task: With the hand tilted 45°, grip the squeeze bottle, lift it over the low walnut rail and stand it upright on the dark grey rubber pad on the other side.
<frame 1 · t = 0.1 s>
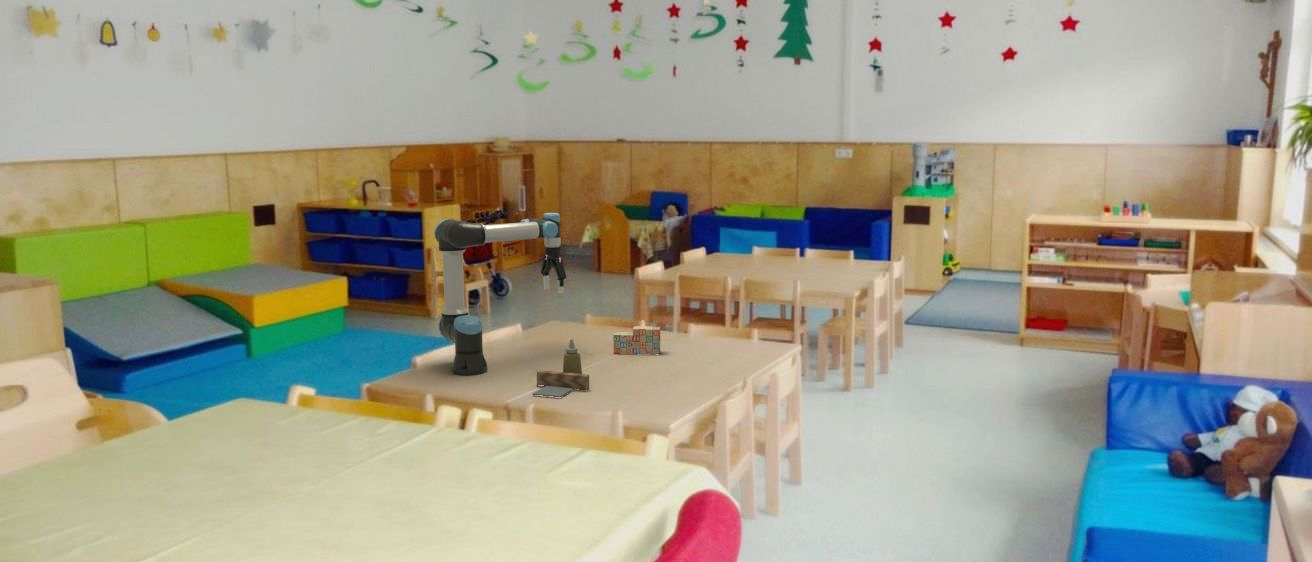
hand: (553, 291, 456), 28 cm above the table, tool pointing down, fingers open, 13 cm apart
squeeze bottle: (572, 382, 403), on the table
stack of blocks: (637, 353, 453), on the table
walnut rail: (563, 387, 395), on the table
grey rubber pad: (553, 393, 386), on the table
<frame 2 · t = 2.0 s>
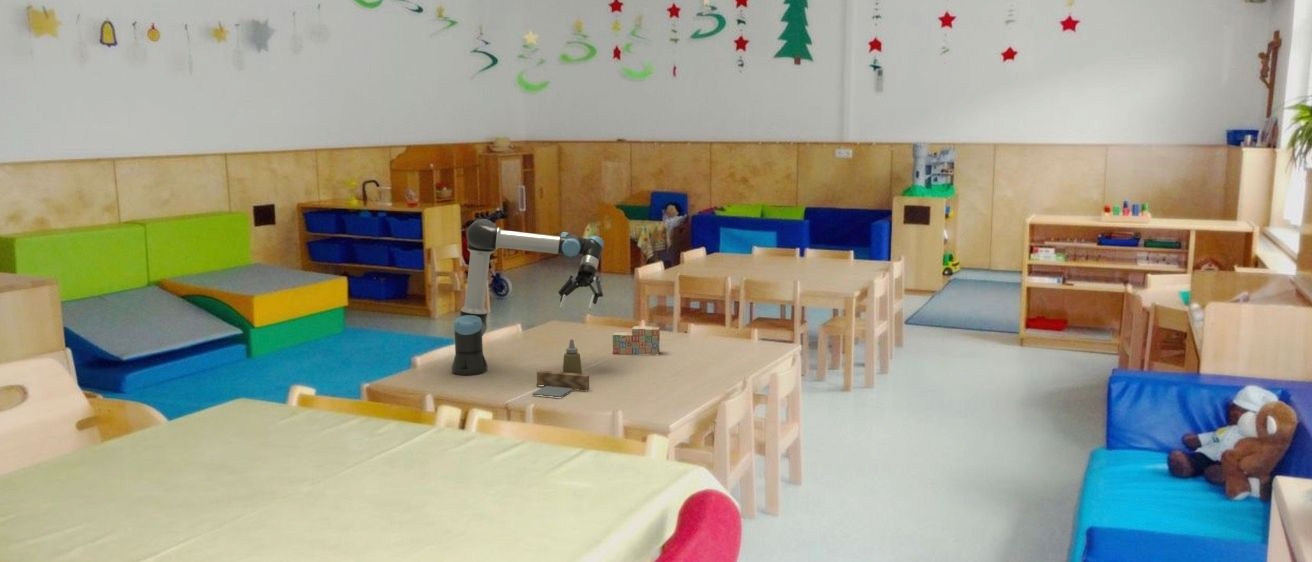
hand: (575, 309, 414), 28 cm above the table, tool tilted 45°, fingers open, 13 cm apart
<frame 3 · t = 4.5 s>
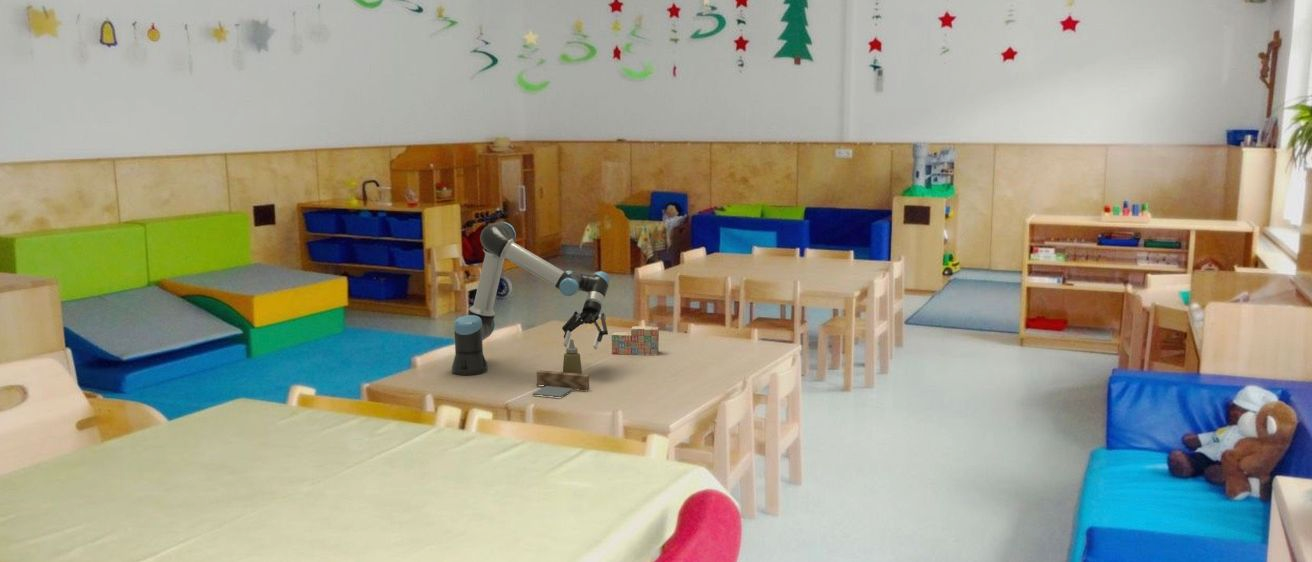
hand: (579, 346, 405), 14 cm above the table, tool tilted 45°, fingers open, 13 cm apart
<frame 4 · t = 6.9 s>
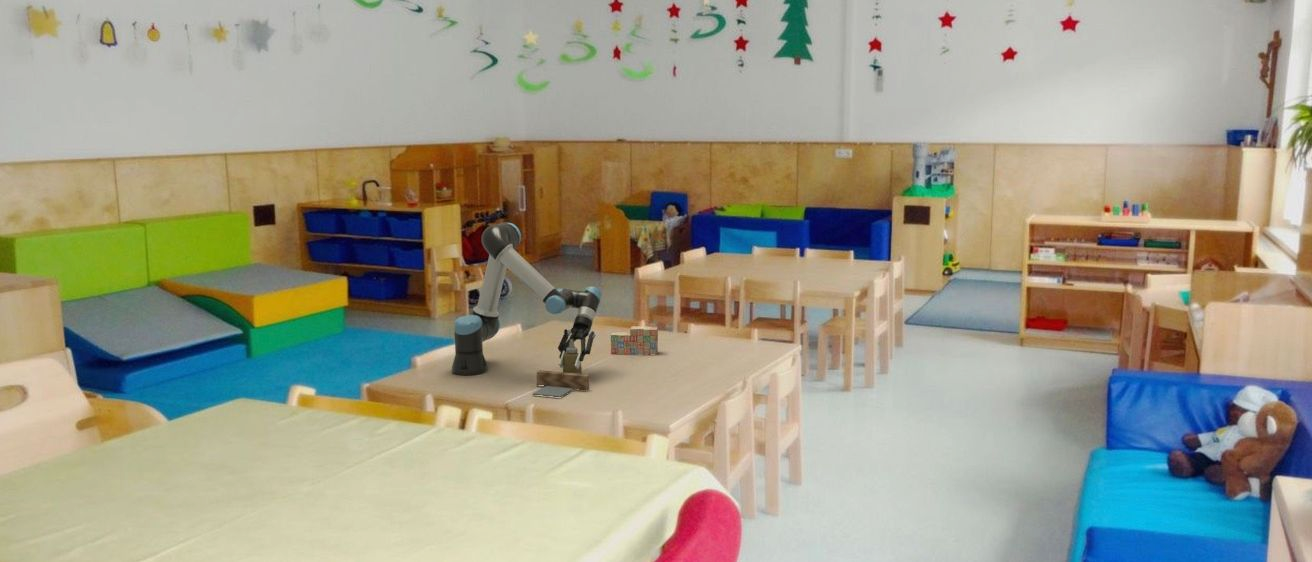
hand: (568, 366, 398), 7 cm above the table, tool tilted 45°, fingers closed on squeeze bottle, 6 cm apart
squeeze bottle: (572, 382, 403), on the table, touching gripper
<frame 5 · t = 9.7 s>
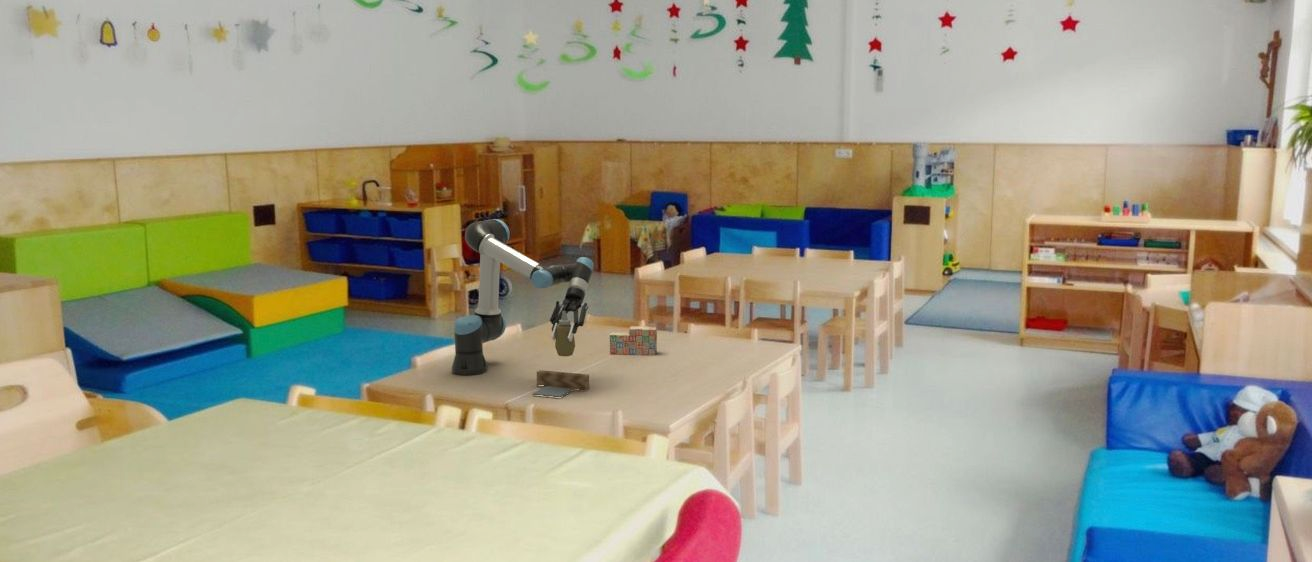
hand: (561, 339, 387), 21 cm above the table, tool tilted 45°, fingers closed on squeeze bottle, 6 cm apart
squeeze bottle: (565, 355, 392), point 13 cm above the table, touching gripper
when the fingers open (10 cm above the table, at t = 12.8 s): squeeze bottle drops 1 cm, resting on grey rubber pad.
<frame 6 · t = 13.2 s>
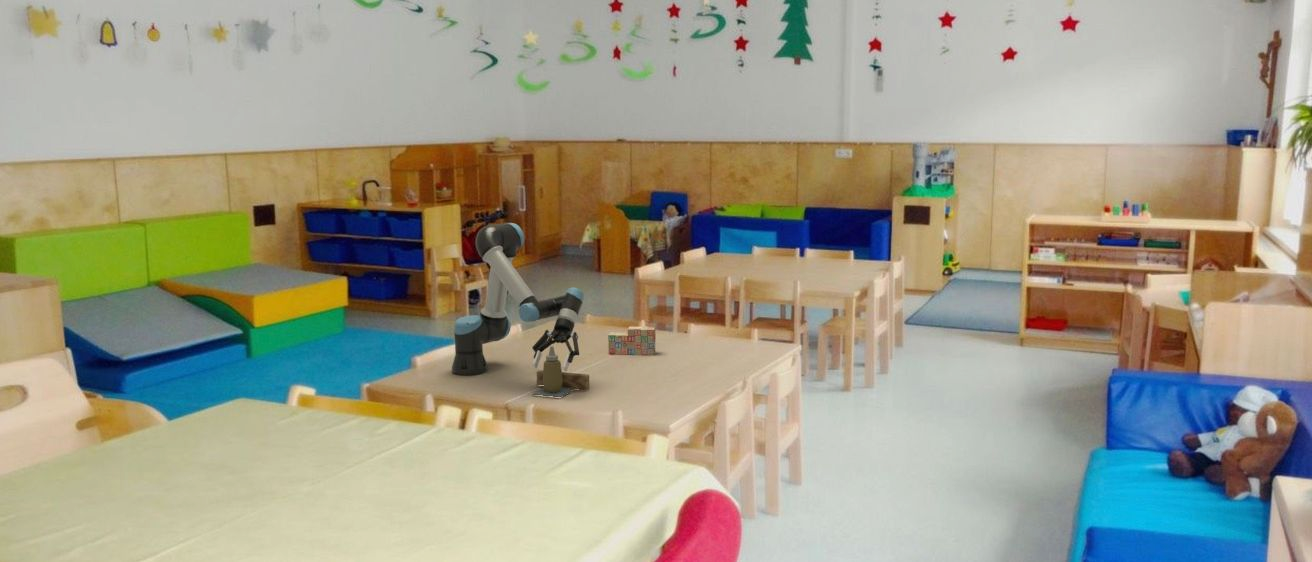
hand: (549, 367, 382), 11 cm above the table, tool tilted 45°, fingers open, 12 cm apart
squeeze bottle: (552, 391, 386), point 1 cm above the table, touching grey rubber pad
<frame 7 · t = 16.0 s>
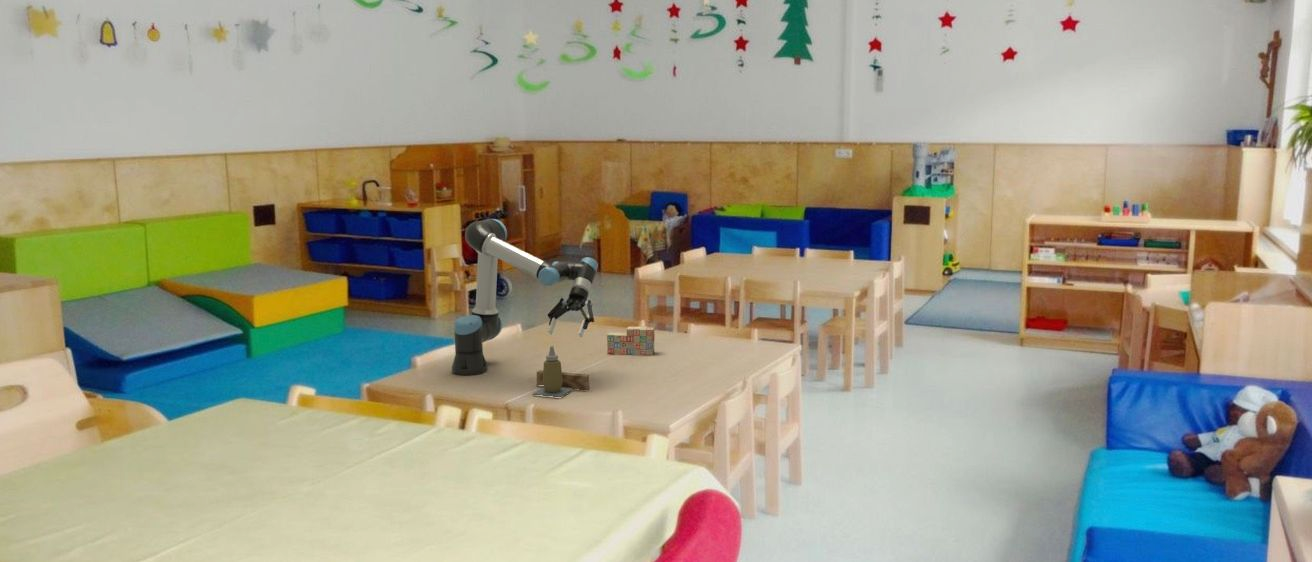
hand: (564, 334, 394), 22 cm above the table, tool tilted 45°, fingers open, 13 cm apart
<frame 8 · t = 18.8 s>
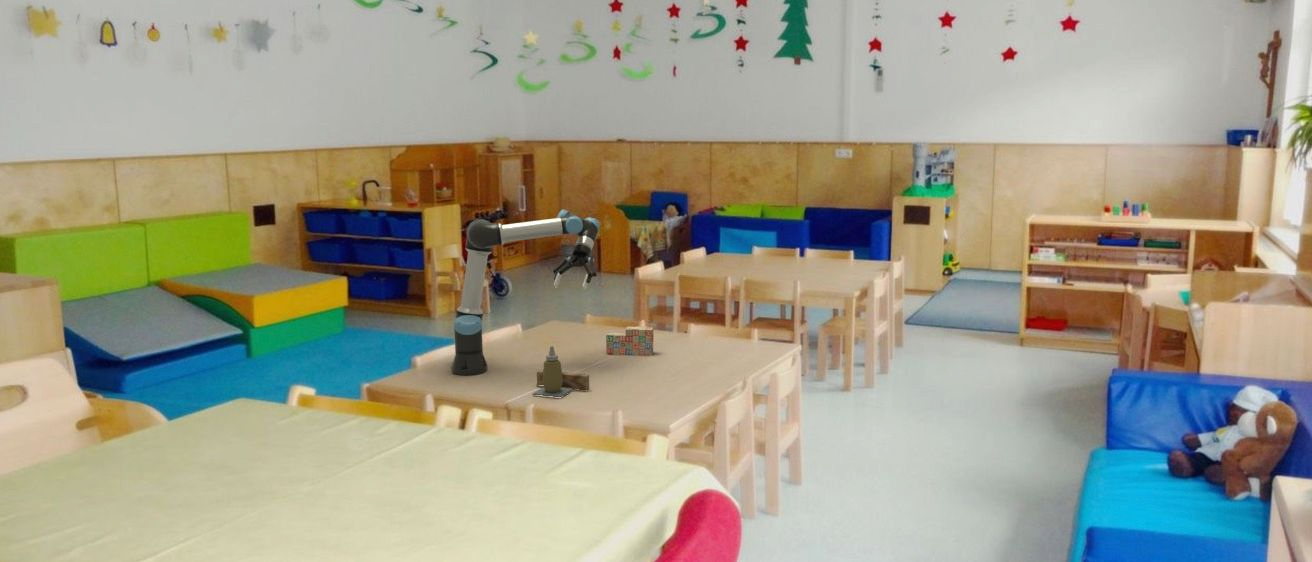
hand: (569, 287, 420), 36 cm above the table, tool tilted 45°, fingers open, 13 cm apart
at the end: squeeze bottle inside the target area on the grey rubber pad (0.2 cm from its centre), point 0.8 cm above the grey rubber pad's base; squeeze bottle tilted 0°; the gripper is holding nothing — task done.
